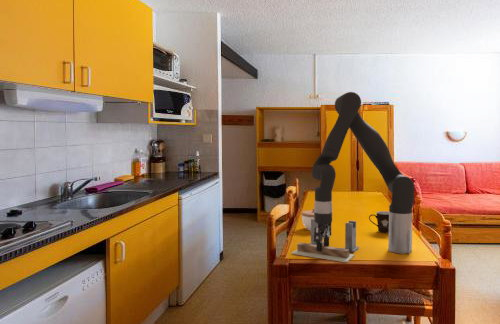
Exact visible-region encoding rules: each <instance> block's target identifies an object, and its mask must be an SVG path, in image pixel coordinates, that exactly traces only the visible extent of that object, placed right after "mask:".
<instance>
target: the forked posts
mask: <svg viewBox="0 0 500 324" xmlns="http://www.w3.org/2000/svg"><path fill="white" fill-rule="evenodd" d="M344 226H345V228H344V229H345V234H344V238H345V240H344V243H345V244H344V247H342V248H343V249H349V254H354V253H356V252H357V251H358V250H359V248H360V247H359V246H357V221H356V220H348V222H345V225H344ZM315 227H316V228H317V227H318V223H315V222H314V219H311V231H310V243H309V244H314V245H316V243H317V242H314V228H315ZM318 239H319V238H318ZM322 246H324V241H322Z"/></svg>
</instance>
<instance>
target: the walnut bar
mask: <svg viewBox="0 0 500 324" xmlns="http://www.w3.org/2000/svg"><path fill="white" fill-rule="evenodd" d="M296 246H297V248H296V250H297V251H301V252H308V253H314V254H321V255H328V256H334V257H341V258H348V257H349V254H350V253H349V249H343V248H344V247H342V248H341V247H334V246H329V247H328V246H324V245H322V251H321V252H318V251H317V250H316V245H314V244H310V243H306V242H299V243H297V245H296Z"/></svg>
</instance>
